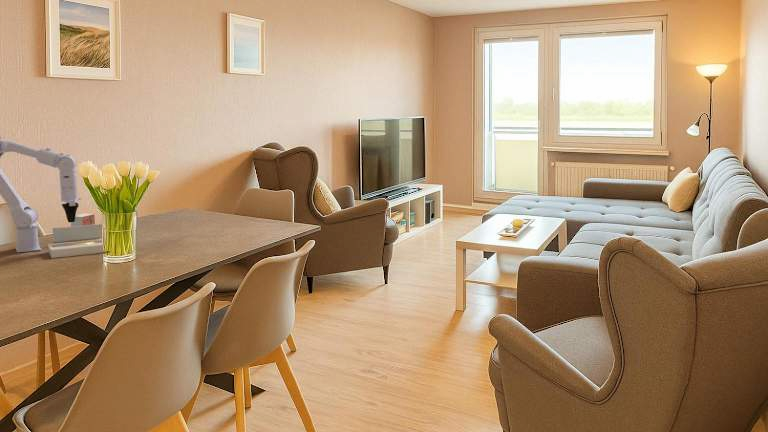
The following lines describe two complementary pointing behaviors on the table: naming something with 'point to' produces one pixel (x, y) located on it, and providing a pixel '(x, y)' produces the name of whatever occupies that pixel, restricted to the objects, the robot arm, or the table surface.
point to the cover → (75, 233)
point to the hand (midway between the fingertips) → (71, 221)
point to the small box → (83, 220)
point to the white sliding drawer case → (75, 248)
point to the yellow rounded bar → (81, 243)
